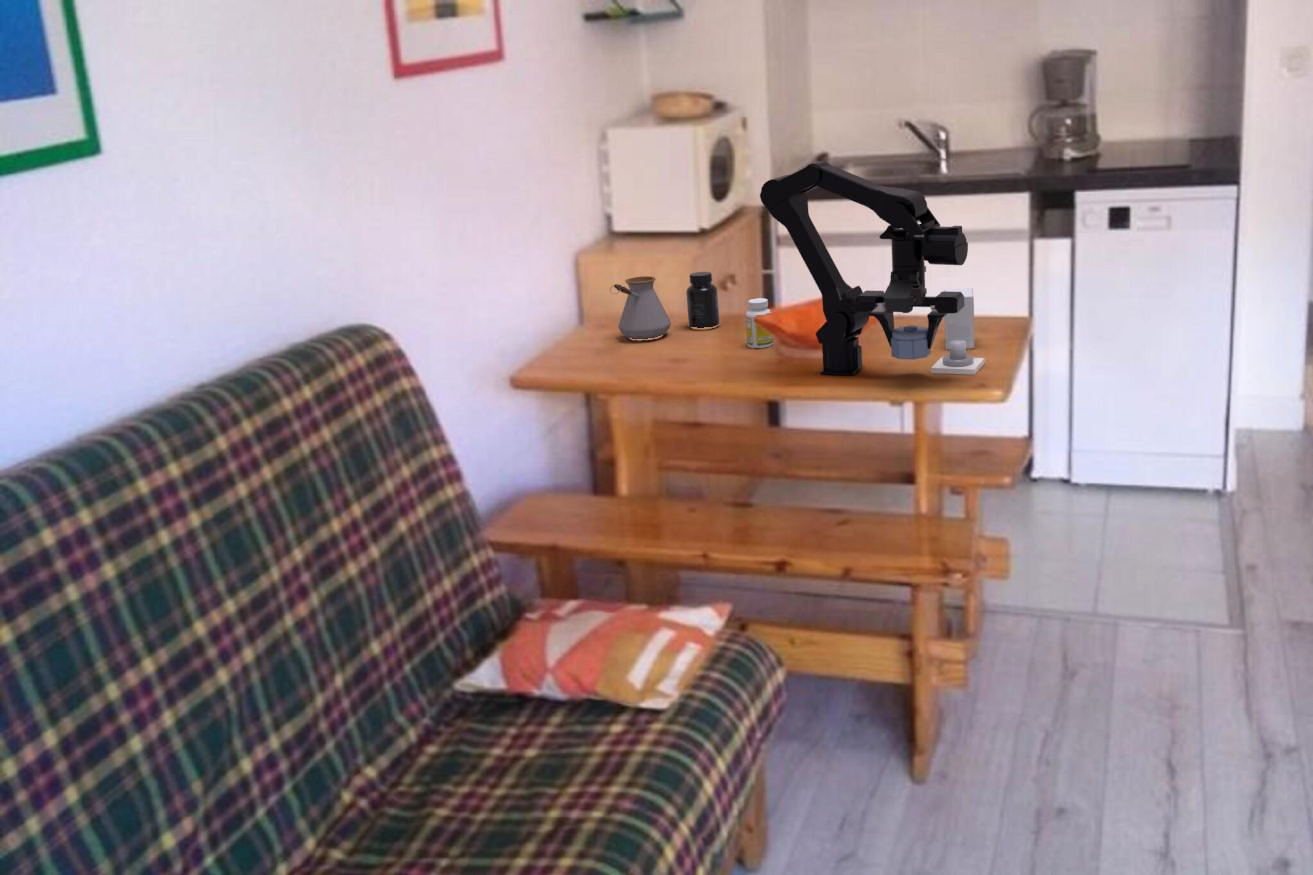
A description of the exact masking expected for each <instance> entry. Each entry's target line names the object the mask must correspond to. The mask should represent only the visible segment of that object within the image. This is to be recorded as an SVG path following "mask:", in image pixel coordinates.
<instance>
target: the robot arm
mask: <svg viewBox="0 0 1313 875" xmlns="http://www.w3.org/2000/svg"><path fill="white" fill-rule="evenodd" d="M816 187H818V188H820V189H823V190H825V191H828V192H830V193H832V194H835V195H837V196H840V197H843V198H845V199H847V200H849V201H851V202H854V203H856V204H858V205H861V206H864V207H866V208H868V209H869V210H872V211H873V213H875V215H876V216H877V217H878V218H879V219H881V220H883V221H884V222H886V223H887V224H889V225H887V228H886V229H885V230H884V232H883V233H881V234H880V235H879V239H881V240H890V243H891V244H890V246H891V266H892V267H891V268H892V271H891V272H890V279H889V280H890V281H889V284H888V285H887V287H886V290H885V291H884V290H864V291H863V290H862V288H861V286H860V285H856V286H855V287H852V286H850V285H849V284H848V283H846V281H845V280H844V278H843V276H842V275H841V272H840V271H839V269H838V267H837V265H836V264H835V261H834V259H833V258H832V256H831V255H830V252H829V250H828V248H827V247H826V245H825V243H824V241H823V240H822V237H821V235H820V233H819V232H818V230H817V227H816V226H815V224H814V222H813V221H812V219H811V216H810V212H809V199H808V196H807V192H809V191H811V190H813V189H815V188H816ZM759 198H760V202H761V203H762V204H763V207H764V208H765V209H766V211H767V212H768V213H769V215H771V217H772V218H773V219H774V220H776V221H777V222H778V223H780V224H781V225H783V227H785V229H786V230H787V232H788V233H789V236H790V238H791V240H792V242H793V243H794V245H795V247H796V249H797V252H799V255H800V256H801V258H802V260H803V262H804V264H805V266H806V267H807V269H808V272H809V273H810V275H811V277H812V278H813V281H814V282H815V284H816V286H817V288H818V290H819V292H820V294H821V302H822V312H823V315H824V317H825V322H824V323H823V325H821V327H820V328H819V329H818V330H817V331H816V332H815V336H816V339H817V342H818V344H821V348H822V349H821V350H822V367H823V368H822V369H821V370H820V371H819V373H820V374H822V375H837V376H838V375H839V376H853V375H855V374H856V373H857V372H858V371H860V370H861V369H862V368H863V366H864V365H863V353H862V352H863V351H862V348H863V347H862V345H859V344H860V342H859V339H860V338H859V336H860V335H862V332H863V329H864V327H865V326H867V324H868V322H869V320H870V317H875V319H876V320H877V321H878V322H879V324H880V326H881V328H882V330H883V332H884V335H885V338H886V339H887V342H888V345H889V348H891V337H892V330H893V329H895V321H894V320H895V318H894V317H895V316H894V313H902V314H909V313H911V312H912V311H913V309H914V307H915V308H930V310H931V311H930V312H929V313H928V314H927V315H926V317H927V323H928V324H927V328H928V337H927V344H928V349H932V347H933V345H934V344H933V343H934V341H935V338H936V335H937V332H938V330H939V327H940V324H941V322H942V320H943V318H945V316H946V315H947V314H948V313H958V312H959V311H960V310H961V309H962V308H963V307H964V295H963V294H962V293H961V292H944V290H943V291H941V292H940V293H939V294H937V295H936V296H927V294H928V292H927V288H926V276H925V275H926V272H927V266H926V265H925V261H927V262H928V264H929V265H943V266H944V265H946V266H963V265H964V264H965V262H966V260H967V258H968V257H967V256H968V252H969V242H967V238H966V235H965V233H963V226H962V225H953V226H941V224H940V222H939V221H938V220H937V218H936V216H935V215H934V214H933V213H932V211H931V210H930V208H929V207H928V202H927V200H926V196H924V194H923V193H921V192H920V191H916V190H912V189H908V188H902V187H891V186H885V185H881V184H878V183H876V182H873V181H871V180H868V179H866V178H863V177H860V176H859V175H856V174H854V173H851V172H849V171H846V170H844V169H841V168H838V167H837V166H833V165H831V164H830V163H828V162H827V161H825V160H819V161H816V162H815V161H814V162H812V163H809V164H808V165H806V166H805V167H803V168H802V169H800V170H797V171H796V172H793V173H791V174H785V175H782V176H779V177H774V178H772V179H769V180H766V182H765V183H764V184H762V186H761V190H760V193H759Z"/></svg>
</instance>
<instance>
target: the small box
mask: <svg viewBox="0 0 1313 875" xmlns="http://www.w3.org/2000/svg"><path fill="white" fill-rule="evenodd" d="M943 292H961V293H962V294H963V295H964V307H963V308H962V309H961V310H960V311H959V312H958V313H948V314H947V315H946V316H945V317H944V334H945V339H944V340H945V350H947V351H950V349H949V342H950V341H953V340H964V341H966V350H969V349H975V308H974V307H975V301H974V300H975V299H974V290H973V288H971V287H970V288H951V289H949V288H947V289H946V288H945V289H944V290H943Z"/></svg>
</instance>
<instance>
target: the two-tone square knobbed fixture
mask: <svg viewBox="0 0 1313 875" xmlns="http://www.w3.org/2000/svg"><path fill="white" fill-rule="evenodd" d="M949 349H950V350H949V354H947V355H944V356H941V357H940V358H939V359H938V360H937V361H936V362H935V363H934V364H933V365H932V367H930V372H931V374H940V375H941V374H943V375H944V374H946V375H948V374H950V375H965V376H966V375H967V376H968V375H969V376H970V375H971V376H974V375H976V374H977V373H978V371H979V370H981V368H982V367H983V366H984V364H986V360H985V357H974V356H973V355H971V354H968V353H967V349H966V341H964V340H953V341H950V342H949Z"/></svg>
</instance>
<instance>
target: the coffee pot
mask: <svg viewBox="0 0 1313 875" xmlns="http://www.w3.org/2000/svg"><path fill="white" fill-rule="evenodd" d="M655 281H656V277H655V276H647V275H646V276H636V277H629V278H627V279H625V280H624V282H625V283H626V284H627V285H628V288H627V287H626V286H622V285H621V284H613V285H612V286H610V288H609V292H610V293H611V294H613V295H618V294H619V293H623V294H626V295H627V298H626V301H625V303H624V307H623V310H622V313H621V316H620V320H619V323H618V329H619V331H620V333H621V334H622V335H623V336H624V337H626V338H632V339H648V338H655V337H658V336H661V335H663V336H664V334H666V333H667V332H668V331H669V330H670V327H671V324H672V323H671V319H670V317H669V316H668V313H667V311H666V309H665V308H664V306H663V303H662V302H661V300H660V298H659V296H658V294H657V292H656V290H655V288H654V282H655ZM612 288H614V289H616V290H617V291H618V292H615V293H614V292H612V291H611V290H612Z"/></svg>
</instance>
